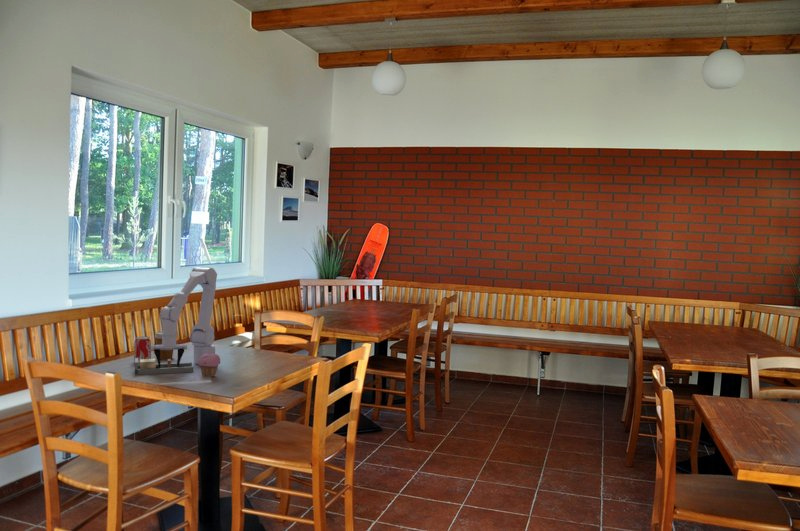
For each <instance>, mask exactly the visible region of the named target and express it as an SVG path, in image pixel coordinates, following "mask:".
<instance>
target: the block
mask: <svg viewBox="0 0 800 531" xmlns="http://www.w3.org/2000/svg"><path fill="white" fill-rule="evenodd" d="M156 360H157V359H156V358H151V359H140V364H139V365H140V369H149V368H159V366H157V367H156V364H157V363H156ZM167 363H168V366H160V368H171V363H172V358H171V359H167Z"/></svg>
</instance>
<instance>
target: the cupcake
mask: <svg viewBox="0 0 800 531" xmlns="http://www.w3.org/2000/svg"><path fill="white" fill-rule="evenodd" d="M220 357H221V356H220V355H218V354H216V353H215V354H213V353H205V354H203V355H202V357H200V359H199V364H198V365H199V366H200V369H201V376H208V377H209V376H210V378H214V377H215V376H216V375H217V370H218V367H219V366H220V364H221V358H220Z"/></svg>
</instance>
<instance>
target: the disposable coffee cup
mask: <svg viewBox="0 0 800 531" xmlns="http://www.w3.org/2000/svg"><path fill="white" fill-rule="evenodd" d="M154 338H155V342H156V344H155V345H162V331H158V332H157V331H156V332H155V335H154ZM165 349H166V348H165ZM173 356H174V350H160V360H164V359H165V360H168V359H171V360H172V359H173Z"/></svg>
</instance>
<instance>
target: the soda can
mask: <svg viewBox="0 0 800 531" xmlns="http://www.w3.org/2000/svg"><path fill="white" fill-rule="evenodd" d="M151 345H152V341H151V339H150V336H136V337H135V340H134V342H133V363H134V364H135V358H138V365H140V359H152V351H151Z"/></svg>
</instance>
